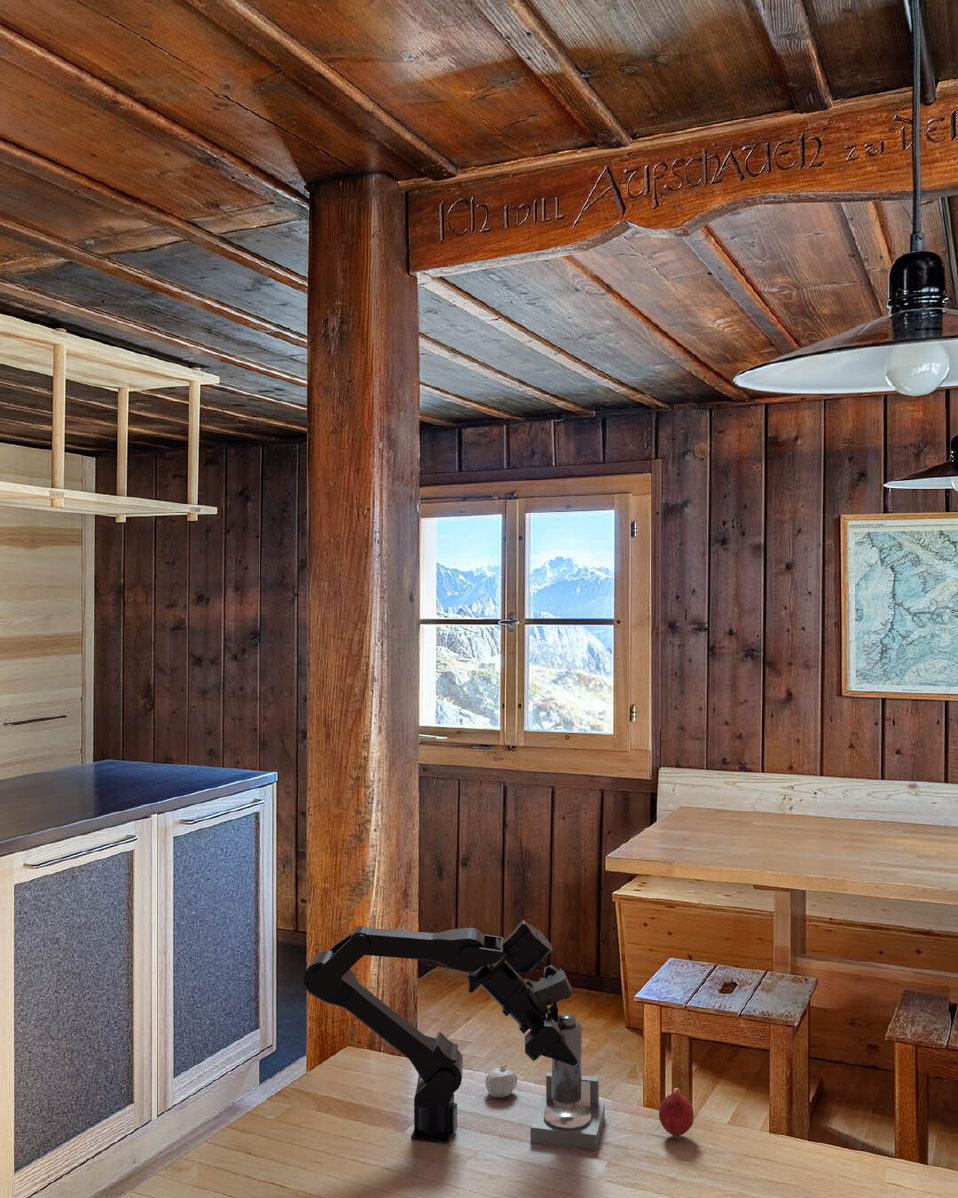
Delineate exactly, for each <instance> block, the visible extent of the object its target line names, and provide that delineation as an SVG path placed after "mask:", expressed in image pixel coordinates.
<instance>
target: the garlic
mask: <svg viewBox="0 0 958 1198" xmlns="http://www.w3.org/2000/svg"><path fill="white" fill-rule="evenodd" d="M507 1066H508V1063H504V1064H503V1065H502V1066H501V1067H497V1068H494V1069H492V1070H491V1071H490V1072H489V1073H488V1074H487V1075H486V1078H485V1087H486V1089H487V1092H488V1094H489V1095H490V1096H491V1097H493V1098H504V1097H507V1096H509V1095H511V1094H512V1093H513V1091H514V1090H515V1089H516V1087H517V1084H518V1077H517V1074H516V1073H515V1072H514V1071H512V1070H510V1069H508V1068H506V1067H507Z"/></svg>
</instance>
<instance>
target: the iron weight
mask: <svg viewBox="0 0 958 1198" xmlns="http://www.w3.org/2000/svg"><path fill="white" fill-rule="evenodd" d="M559 1023H560V1025H561V1037H562V1039H563V1040H564V1041H565V1043H566V1044H567V1046H568V1047H569V1048H570V1050H571V1051H572V1053H573V1054H574V1056H575V1057H576V1059H577V1060H578V1063H577V1064H576V1065H575V1066H572V1065H569V1064H566V1063H563V1062H561V1061H558V1060H555V1059H552V1058H551V1072H552V1098H553V1099H554V1100H555V1101H557V1102H559V1103H564V1104H571V1103H576V1102H578V1101H580V1100H581V1075H582V1061H583V1060H582V1056H583V1055H582V1050H583V1049H582V1047H583V1045H582V1044H583V1042H582V1040H583V1037H582V1036H583V1034H582V1033H583V1032H582V1031H583V1027H582V1024H581V1023H580V1022H578V1021H577V1016H576V1015H575V1014H573V1013H569V1012H568V1013H560V1014H558V1021H556V1024H557V1025H558V1024H559Z"/></svg>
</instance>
